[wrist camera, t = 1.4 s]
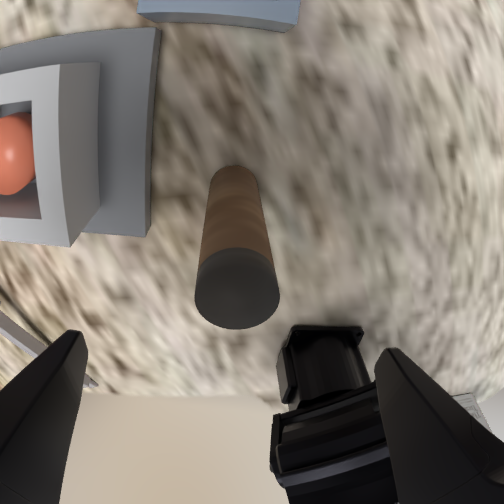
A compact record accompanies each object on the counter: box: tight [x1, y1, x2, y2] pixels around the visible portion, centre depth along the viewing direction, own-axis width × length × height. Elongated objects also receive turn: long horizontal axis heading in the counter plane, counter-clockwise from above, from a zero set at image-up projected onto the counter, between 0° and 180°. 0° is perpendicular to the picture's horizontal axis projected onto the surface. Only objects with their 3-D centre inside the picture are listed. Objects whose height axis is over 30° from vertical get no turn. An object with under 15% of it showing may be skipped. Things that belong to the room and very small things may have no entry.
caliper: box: [0, 301, 98, 388], centre depth 22 cm, size 20×1×6 cm, turn 24°
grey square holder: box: [0, 27, 162, 247], centre depth 13 cm, size 14×12×6 cm
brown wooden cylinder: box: [195, 165, 280, 329], centre depth 15 cm, size 3×3×10 cm
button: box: [0, 112, 36, 195], centre depth 12 cm, size 4×4×2 cm
